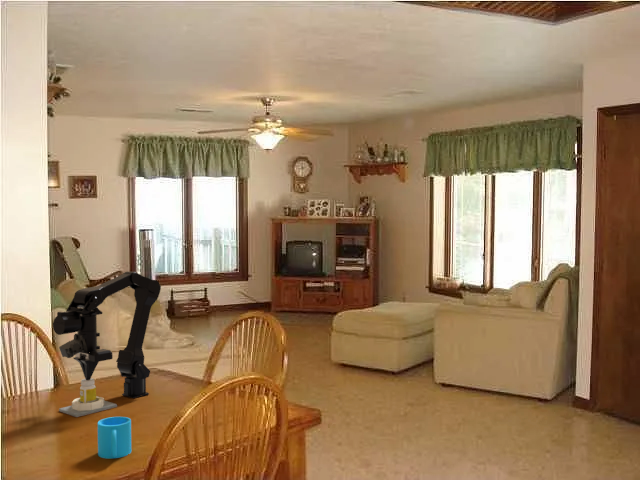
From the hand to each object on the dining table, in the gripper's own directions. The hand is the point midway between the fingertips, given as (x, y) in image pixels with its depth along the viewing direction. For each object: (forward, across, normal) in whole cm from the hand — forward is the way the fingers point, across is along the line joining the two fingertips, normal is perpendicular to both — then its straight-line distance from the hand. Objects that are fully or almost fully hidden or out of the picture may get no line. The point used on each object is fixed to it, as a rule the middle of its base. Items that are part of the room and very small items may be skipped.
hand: (87, 379), depth 214 cm
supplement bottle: (+9, 0, 0) cm, 9 cm away
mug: (+10, +42, -19) cm, 47 cm away
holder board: (+9, 0, 0) cm, 9 cm away
